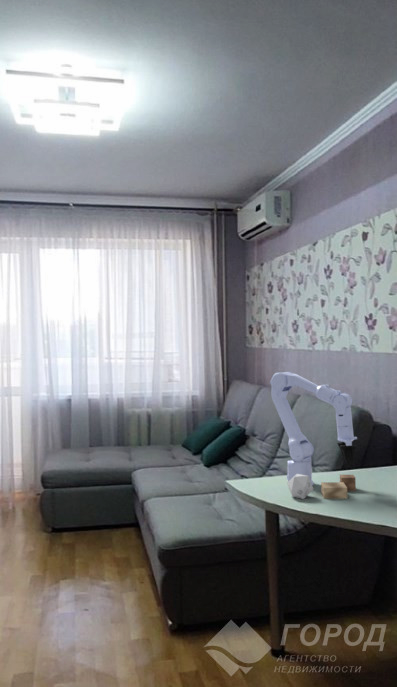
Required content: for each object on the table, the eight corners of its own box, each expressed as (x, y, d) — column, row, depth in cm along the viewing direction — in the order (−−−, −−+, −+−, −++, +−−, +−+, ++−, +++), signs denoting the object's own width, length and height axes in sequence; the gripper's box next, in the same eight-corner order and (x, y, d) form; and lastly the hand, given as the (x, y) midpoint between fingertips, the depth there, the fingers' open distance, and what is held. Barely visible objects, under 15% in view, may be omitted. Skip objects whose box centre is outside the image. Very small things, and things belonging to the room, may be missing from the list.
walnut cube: (341, 491, 208) (341, 477, 208) (340, 487, 213) (339, 474, 213) (355, 491, 208) (355, 477, 208) (353, 488, 213) (353, 474, 213)
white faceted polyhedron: (291, 502, 196) (308, 481, 194) (278, 486, 203) (294, 465, 201) (306, 507, 201) (322, 486, 199) (292, 490, 208) (308, 470, 206)
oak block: (324, 499, 199) (323, 487, 199) (321, 493, 207) (321, 482, 207) (347, 499, 198) (347, 487, 198) (343, 493, 206) (343, 482, 206)
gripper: (358, 427, 204) (362, 465, 203) (352, 423, 218) (356, 458, 217) (338, 428, 205) (342, 466, 204) (334, 424, 219) (337, 460, 218)
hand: (348, 462), depth 211 cm, fingers open, 7 cm apart
